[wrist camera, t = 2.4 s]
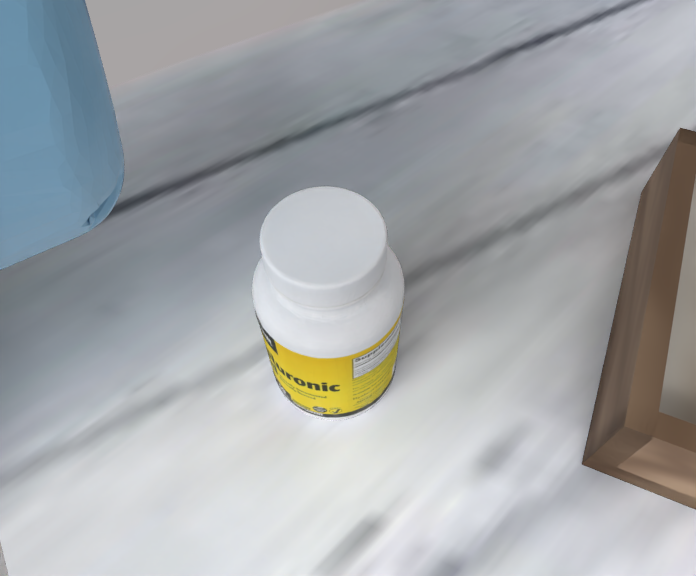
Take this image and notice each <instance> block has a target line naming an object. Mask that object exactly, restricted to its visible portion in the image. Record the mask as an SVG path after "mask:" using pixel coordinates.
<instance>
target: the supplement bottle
mask: <svg viewBox="0 0 696 576" xmlns="http://www.w3.org/2000/svg"><path fill="white" fill-rule="evenodd" d="M387 240H388V235H387V228H386V224H385V221H384V219H383V216H382V215H381V213H380V212H379V210H378V209H377V208H376V207H375V205H373V204H372V203H371V202H370V201H369V200H368V199H366V198H365V197H363V196H362V195H360V194H358V193H356V192H353V191H351V190H348V189H344V188H339V187H332V186H320V187H311V188H307V189H303V190H300V191H297V192H295V193H292V194H290V195H289V196H287V197H285V198H283V199H282V200H281V201H280V202H278V203H277V204H276V205H275V206H274V207H273V208H272V209H271V210H270V212H269V213H268V214H267V216H266V218H265V220H264V222H263V224H262V227H261V232H260V249H261V253H262V256H261V258H260V260H259V262H258V264H257V267H256V269H255V272H254V276H253V282H252V297H253V303H254V307H255V312H256V316H257V319H258V322H259V325H260V328H261V331H262V335H263V338H264V341H265V345H266V348H267V352H268V355H269V358H270V362H271V365H272V368H273V372H274V375H275V378H276V381H277V383H278V385H279V388H280V389H281V391H282V393H283V394H284V396H285V397H286V398H287V400H288V401H289V402H290V403H291V404H292V405H293V406H294V407H296V408H297V409H298V410H300V411H301V412H303V413H305V414H307V415H309V416H312V417H315V418H318V419H323V420H332V421H334V420H345V419H349V418H353V417H356V416H358V415H360V414H362V413H364V412H366V411H368V410H369V409H371V408H372V407H373V406H375V405H376V404H377V403H378V402H379V401H380V400H381V398H382V397H383V396H384V395H385V393H386V392H387V390H388V388H389V386H390V384H391V382H392V379H393V376H394V372H395V366H396V358H397V349H398V342H399V334H400V326H401V317H402V310H403V302H404V277H403V272H402V268H401V265H400V263H399V261H398V259H397V257H396V255H395V253H394V252H393V251H392V249H391V248H390V247H389V245H388V244H387Z"/></svg>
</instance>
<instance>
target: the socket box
mask: <svg viewBox="0 0 696 576" xmlns="http://www.w3.org/2000/svg"><path fill="white" fill-rule="evenodd" d="M582 465H585V466H587V467H590V468H592V469H595V470H597V471H600V472H602V473H605V474H607V475H610V476H612V477H615V478H618V479H620V480H623V481H625V482H628V483H630V484H633V485H635V486H638V487H640V488H643V489H645V490H648V491H650V492H653V493H655V494H658V495H661V496H663V497H666V498H668V499H671V500H673V501H676V502H678V503H681V504H683V505H686V506H688V507H691V508H693V509H696V132H695V131H691V130H687V129H683V128H680V129H679V130H678V132H677V134H676V135H675V137H674V139H673V140H672V142H671V144H670V145H669V147H668V149H667V150H666V152H665V154H664V155H663V157H662V159H661V160H660V162H659V164H658V166H657V167H656V169H655V171H654V172H653V174H652V176H651V177H650V179H649V181H648V182H647V184H646V186H645V187H644V189H643V191H642V192H641V197H640V201H639V206H638V210H637V215H636V220H635V224H634V229H633V233H632V238H631V242H630V247H629V251H628V256H627V260H626V265H625V270H624V274H623V279H622V283H621V288H620V292H619V297H618V301H617V306H616V311H615V315H614V320H613V324H612V329H611V333H610V338H609V342H608V347H607V352H606V356H605V361H604V365H603V370H602V374H601V379H600V383H599V388H598V393H597V397H596V402H595V406H594V411H593V415H592V420H591V424H590V429H589V433H588V438H587V443H586V447H585V452H584V456H583V461H582Z"/></svg>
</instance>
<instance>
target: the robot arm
mask: <svg viewBox="0 0 696 576" xmlns="http://www.w3.org/2000/svg"><path fill="white" fill-rule="evenodd" d="M123 180H124V156H123V149H122V144H121V139H120V135H119V130H118V125H117V121H116V116H115V111H114V107H113V103H112V99H111V95H110V92H109V88H108V84H107V80H106V76H105V72H104V68H103V64H102V61H101V57H100V54H99V50H98V46H97V42H96V38H95V34H94V31H93V27H92V24H91V21H90V17H89V13H88V10H87V6H86V3H85V0H0V270H2V269H4V268H6V267H9V266H11V265H13V264H16V263H18V262H20V261H23V260H25V259H27V258H30V257H32V256H34V255H37V254H39V253H41V252H44V251H46V250H48V249H51V248H53V247H55V246H58V245H60V244H62V243H65V242H67V241H69V240H72V239H74V238H76V237H79V236H81V235H83V234H85V233H87V232H89V231H90V230H91V229H93V228H94V227H96V226H97V225H99V224H100V223H101V222H102V221H103V220H104V219H105V218H106V217H107V216H108V215H109V213H110V212H111V211H112V209H113V207H114V206H115V204H116V202H117V199H118V197H119V194H120V192H121V189H122V184H123ZM0 576H8V572H7V568H6V563H5V559H4V555H3V551H2V547H1V542H0Z"/></svg>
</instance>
